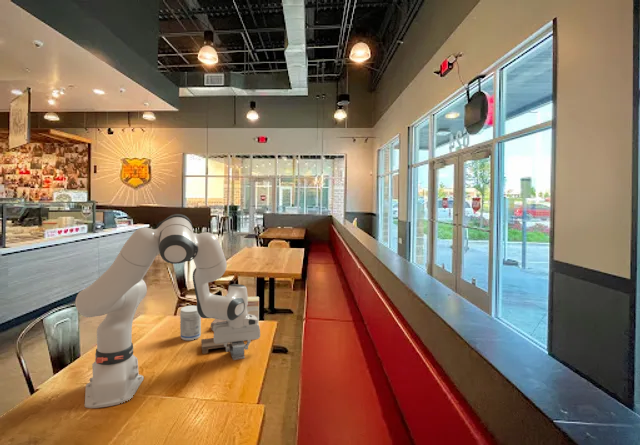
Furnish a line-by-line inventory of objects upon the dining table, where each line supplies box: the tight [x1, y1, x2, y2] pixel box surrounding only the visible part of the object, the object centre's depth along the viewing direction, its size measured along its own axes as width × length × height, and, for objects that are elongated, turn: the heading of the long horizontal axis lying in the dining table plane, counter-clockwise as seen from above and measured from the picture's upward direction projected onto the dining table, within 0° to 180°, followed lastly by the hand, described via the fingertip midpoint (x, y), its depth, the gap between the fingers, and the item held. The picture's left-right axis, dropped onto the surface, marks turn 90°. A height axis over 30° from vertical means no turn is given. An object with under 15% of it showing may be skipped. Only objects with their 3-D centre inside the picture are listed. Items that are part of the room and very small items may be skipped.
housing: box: [230, 341, 246, 361], centre depth 157 cm, size 9×5×6 cm, turn 23°
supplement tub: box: [179, 305, 202, 341], centre depth 174 cm, size 10×10×15 cm
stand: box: [200, 337, 230, 355], centre depth 164 cm, size 9×13×3 cm
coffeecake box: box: [247, 296, 260, 326], centre depth 177 cm, size 15×7×20 cm, turn 98°
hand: (237, 350), depth 157 cm, fingers open, 7 cm apart
